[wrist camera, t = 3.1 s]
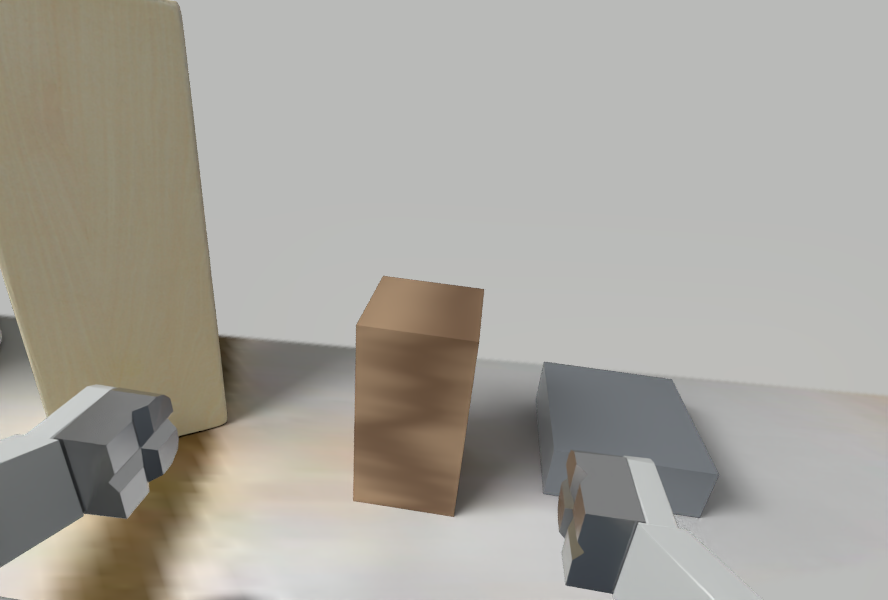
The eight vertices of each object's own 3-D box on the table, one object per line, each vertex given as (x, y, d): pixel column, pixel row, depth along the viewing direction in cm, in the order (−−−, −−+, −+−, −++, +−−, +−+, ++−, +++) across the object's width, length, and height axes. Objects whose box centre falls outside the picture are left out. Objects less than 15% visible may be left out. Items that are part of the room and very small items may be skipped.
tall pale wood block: (212, 357, 35) (163, 0, 25) (232, 424, 29) (180, -1, 20) (68, 385, 31) (-53, -24, 21) (61, 468, 25) (-106, -35, 16)
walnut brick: (353, 500, 25) (356, 324, 21) (376, 432, 30) (383, 276, 25) (453, 516, 25) (478, 341, 20) (461, 445, 29) (484, 289, 25)
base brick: (543, 493, 27) (554, 450, 25) (535, 399, 34) (543, 361, 32) (699, 517, 26) (719, 474, 25) (658, 417, 33) (671, 379, 32)
